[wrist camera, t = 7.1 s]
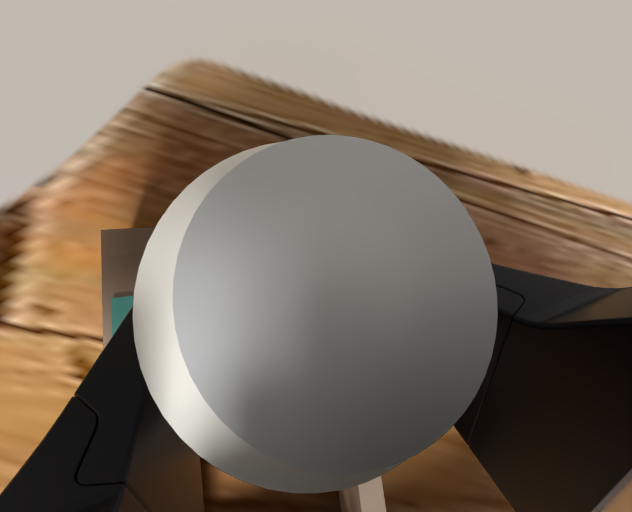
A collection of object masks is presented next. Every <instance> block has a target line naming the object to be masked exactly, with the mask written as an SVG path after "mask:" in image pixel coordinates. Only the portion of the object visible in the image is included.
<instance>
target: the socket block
mask: <svg viewBox="0 0 632 512" xmlns="http://www.w3.org/2000/svg"><path fill="white" fill-rule="evenodd" d="M154 229H155V227H146V228H128V229H110V230H101V256H102V306H103V350H104V348H105V347H106V345H107V344H108V342H109V341H110V339H111V338H112V336H113V335H114V333H115V332H116V330H117V329H118V327H119V326H120V324H121V322H122V321H123V319H124V318H125V316H126V315H127V313H128V312H129V310H130V309H131V307H132V306H133V300H134V289H135V284H136V279H137V274H138V269H139V265H140V262H141V260H142V257H143V254H144V251H145V248H146V245H147V243H148V241H149V239H150V237H151V235H152V233H153V231H154ZM338 492H339V500H340V508H341V512H386V506H385V499H384V492H383V485H382V479H381V476H379V477H377V478H375V479H372V480H370V481H368V482H366V483H363V484H360V485H357V486H353V487H350V488H347V489H343V490H338Z"/></svg>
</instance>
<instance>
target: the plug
mask: <svg viewBox="0 0 632 512" xmlns="http://www.w3.org/2000/svg"><path fill="white" fill-rule="evenodd" d="M497 318H498V310H497V292H496V285H495V278H494V273H493V269H492V265H491V261H490V257H489V255H488V252H487V249H486V247H485V244H484V241H483V239H482V237H481V235H480V233H479V231H478V229H477V227H476V225H475V223H474V221H473V219H472V218H471V216H470V215H469V213H468V212H467V210H466V209H465V207H464V206H463V204H462V203H461V202H460V201H459V199H458V198H457V197H456V196H455V194H454V193H453V192H452V191H451V190H450V189H449V188H448V187H447V186H446V185H445V184H444V183H443V182H442V181H441V180H440V179H439V178H438V177H437V176H436V175H435V174H433V173H432V172H431V171H430V170H428V169H427V168H426V167H424V166H423V165H422V164H420V163H419V162H417V161H416V160H414V159H412V158H411V157H409V156H407V155H406V154H404V153H402V152H399V151H397V150H395V149H393V148H391V147H389V146H386V145H383V144H380V143H377V142H374V141H371V140H367V139H362V138H357V137H353V136H342V135H312V136H306V137H300V138H295V139H291V140H287V141H284V142H278V143H272V144H266V145H262V146H258V147H255V148H252V149H249V150H245V151H242V152H240V153H238V154H236V155H234V156H231V157H229V158H227V159H225V160H223V161H221V162H220V163H218V164H216V165H215V166H213V167H212V168H210V169H208V170H207V171H205V172H204V173H203V174H201V175H200V176H199V177H198V178H197V179H195V180H194V181H193V182H192V183H190V184H189V185H188V186H187V187H186V188H185V189H184V190H183V191H182V192H181V193H180V195H179V196H178V197H177V198H176V199H175V200H174V201H173V202H172V203H171V205H170V206H169V207H168V209H167V210H166V212H165V213H164V215H163V216H162V217H161V219H160V220H159V222H158V223H157V225H156V227H155V229H154V231H153V233H152V235H151V237H150V239H149V241H148V243H147V245H146V248H145V251H144V254H143V257H142V260H141V262H140V265H139V269H138V274H137V279H136V284H135V289H134V300H133V329H134V341H135V347H136V351H137V355H138V360H139V364H140V368H141V371H142V374H143V376H144V379H145V381H146V384H147V386H148V389H149V392H150V394H151V396H152V397H153V399H154V401H155V403H156V404H157V406H158V408H159V410H160V411H161V413H162V415H163V417H164V418H165V419H166V420H167V422H168V423H169V424H170V426H171V427H172V428H173V429H174V431H175V432H176V433H177V434H178V436H179V437H180V438H181V439H182V440H183V441H184V442H185V443H186V444H187V445H188V446H189V447H191V448H192V449H193V450H194V451H195V452H196V453H197V454H198V455H199V456H200V457H202V458H203V459H205V460H206V461H208V462H209V463H211V464H212V465H213V466H215V467H216V468H218V469H219V470H221V471H223V472H225V473H227V474H229V475H231V476H233V477H235V478H237V479H239V480H241V481H243V482H246V483H249V484H252V485H256V486H259V487H262V488H265V489H268V490H275V491H281V492H288V493H324V492H331V491H338V490H343V489H347V488H350V487H353V486H357V485H360V484H363V483H366V482H368V481H370V480H372V479H375V478H377V477H379V476H381V475H383V474H385V473H387V472H389V471H390V470H392V469H393V468H395V467H396V466H398V465H400V464H401V463H403V462H404V461H406V460H407V459H408V458H410V457H413V456H415V455H417V454H418V453H420V452H421V451H423V450H424V449H426V448H427V447H429V446H430V445H432V444H433V443H435V442H436V441H437V440H438V439H439V438H440V437H442V436H443V435H444V434H445V433H446V432H447V431H448V430H450V429H451V427H452V426H453V425H454V424H455V423H456V422H457V421H458V419H459V418H460V417H461V416H462V415H463V414H464V412H465V411H466V409H467V408H468V406H469V405H470V403H471V402H472V400H473V399H474V397H475V396H476V394H477V392H478V390H479V388H480V386H481V384H482V381H483V379H484V377H485V375H486V372H487V369H488V366H489V363H490V360H491V357H492V353H493V348H494V343H495V338H496V330H497Z"/></svg>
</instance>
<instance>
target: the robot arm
mask: <svg viewBox="0 0 632 512" xmlns="http://www.w3.org/2000/svg"><path fill="white" fill-rule="evenodd" d="M491 265H492V269H493V273H494V278H495V285H496V292H497V310H498V318H497V330H496V338H495V343H494V348H493V353H492V357H491V360H490V363H489V366H488V369H487V372H486V375H485V377H484V379H483V381H482V384H481V386H480V388H479V390H478V392H477V394H476V396H475V397H474V399H473V400H472V402H471V403H470V405H469V406H468V408H467V409H466V411H465V412H464V414H463V415H462V416H461V417H460V418H459V419H458V421H457V422H456V423H455V424H454V427H455V428H456V430H457V431H458V432H459V434H460V435H461V436H462V438H463V439H464V441H465V442H466V443H467V445H469V448H470V449H471V451H472V452H473V453H474V455H475V456H476V457H477V459H478V460H479V462H480V463H481V464H482V466H483V467H484V468H485V470H486V471H487V473H488V474H489V475H490V477H491V478H492V479H493V481H494V482H495V484H496V485H497V486H498V488H499V489H500V490H501V492H502V493H503V495H504V496H505V497H506V499H507V500H508V501H509V503H510V504H511V506H512V507H513V508H514V510H515V511H516V512H632V287H628V288H600V287H593V286H587V285H582V284H578V283H573V282H569V281H564V280H560V279H555V278H551V277H546V276H542V275H538V274H533V273H529V272H524V271H520V270H516V269H512V268H507V267H503V266H500V265H496V264H492V263H491ZM0 512H204V501H203V489H202V477H201V465H200V456H199V455H198V454H197V453H196V452H195V451H194V450H193V449H192V448H191V447H189V446H188V445H187V444H186V443H185V442H184V441H183V440H182V439H181V438H180V437H179V436H178V434H177V433H176V432H175V431H174V429H173V428H172V427H171V426H170V424H169V423H168V422H167V420H166V419H165V418H164V417H163V415H162V413H161V411H160V410H159V408H158V406H157V404H156V403H155V401H154V399H153V397H152V396H151V394H150V392H149V389H148V386H147V384H146V381H145V379H144V376H143V374H142V371H141V368H140V364H139V360H138V355H137V351H136V347H135V341H134V329H133V306H132V307H131V309H130V310H129V312H128V313H127V315H126V316H125V318H124V319H123V321H122V322H121V324H120V326H119V327H118V329H117V330H116V332H115V333H114V335H113V336H112V338H111V339H110V341H109V342H108V344H107V345H106V347H105V348H104V350H103V351H102V353H101V354H100V356H99V357H98V359H97V360H96V362H95V363H94V365H93V366H92V368H91V369H90V371H89V372H88V374H87V375H86V377H85V378H84V380H83V381H82V383H81V384H80V386H79V387H78V389H77V390H76V392H75V394H74V397H72V398H71V399H70V401H69V402H68V404H67V405H66V407H65V408H64V410H63V411H62V413H61V414H60V416H59V417H58V419H57V420H56V421H55V423H54V424H53V426H52V427H51V429H50V430H49V431H48V433H47V434H46V436H45V437H44V439H43V440H42V441H41V443H40V444H39V445H38V447H37V448H36V449H35V450H34V452H33V453H32V454H31V456H30V457H29V458H28V460H27V461H26V462H25V464H24V465H23V466H22V468H21V469H20V470H19V471H18V473H17V474H16V475H15V477H14V478H13V479H12V480H11V482H10V483H9V484H8V485H7V487H6V488H5V489H4V490H3V492H2V493H1V494H0Z"/></svg>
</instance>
